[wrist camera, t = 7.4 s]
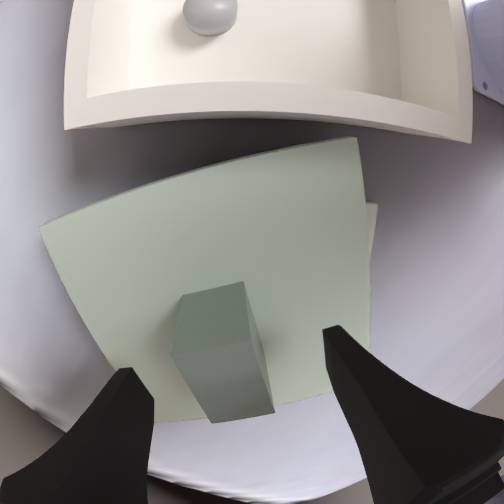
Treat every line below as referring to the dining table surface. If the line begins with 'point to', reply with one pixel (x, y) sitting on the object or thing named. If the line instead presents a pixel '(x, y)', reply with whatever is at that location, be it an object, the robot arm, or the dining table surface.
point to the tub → (271, 63)
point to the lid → (225, 278)
